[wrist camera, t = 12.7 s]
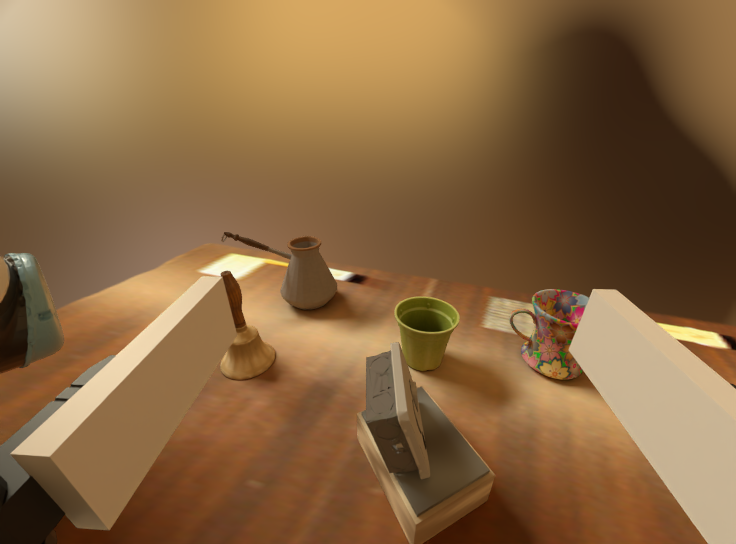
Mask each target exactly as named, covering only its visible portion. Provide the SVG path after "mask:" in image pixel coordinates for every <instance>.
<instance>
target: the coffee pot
mask: <svg viewBox="0 0 736 544" xmlns="http://www.w3.org/2000/svg"><path fill="white" fill-rule="evenodd" d="M224 235H226V238H227V237H231V238H233V239H234V240H235V241H237V240H239V241H241V242H243V243H245V244H247V245H249V246H252V247H256V248H259V249H262V250H265V251H269V252H272V253H275V254H277V255H280V256H282V257H285V258H288V259H290V262H289V265H288V268H287V271H286V275H285V278H284V281H283V284H282V287H281V295H282V297H283V298H284V299H285V300H286V301H287V302H288V303H289V304H291V305H293V306H295V307H297V308H299V309H305V310H310V309H316V308H319V307H322V306H323V305H325V304H326V303H327V302H328V301H329V300H330V299H331V298H332V297H333V296H334V295H335V293H336V290H337V283H336V281H335V279H334V277H333V276H332V274H331V272H330V270H329V269H328V267H327V265H326V263H325V262H324V260H323V258H322V256H321V255H320V253H319V246H320V245H321V241H320V239H318V238H315V237H311V236H305V237H299V238H295V239H293V240H291V241H289V242H288V244H287V246H288V248H289V249H291V252H292V255H291V254H288V253H285V252H282V251H279V250H276V249H273V248H270V247H268V246H265V245H263V244H261V243H259V242H256V241H254V240H251V239H248V238H244V237H239V235H233V234H231V233H229V232H224ZM224 235H223V237H224ZM223 237H222V242H224V241H225V240H226V238H225V239H224V241H223Z"/></svg>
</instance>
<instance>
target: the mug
mask: <svg viewBox="0 0 736 544" xmlns="http://www.w3.org/2000/svg"><path fill="white" fill-rule="evenodd" d="M588 300H589V298H588V297H586V296H584V295H581V294H578V293H574V292H570V291H566V290H558V289H548V290H542V291H539V292H537V293H536V294H535V295H534V296H533V298H532V303H533V306H534V311H535V315H534V314H533V313H532V312H531V311H529V310H526V309H517V310H515V311H513V312H512V313H511V314H510V317H509V320H510V324H511V326H512V328H513V330H514V331H515V332H516V333H517V334H518V335H519V336H520V337H522V338H523V339H525V340H527V342H525V343H524V344H523V346H522V348H521V354H522V357H523V358H524V360H525V361H526V363H527V364H528V365H529V366H530V367H532V368H533V369H534V370H536V371H537V372H539V373H541V374H543V375H546V376H548V377H551V378H555V379H562V380H567V379H573V378H576V377H578V376H579V375H580V374H581V373H582V372H583V369H582V368H581V367H580V365H579V364H578V363H577V361H576V360H575V358H574V357H573V356H572V354H571V353H570V351H569V347H570V345H571V342H572V340H573V337H574V335H575V333H576V330H577V328H578V325H579V323H580V320H581V318H582V315H583V313H584V310H585V308H586V305H587V303H588ZM518 313H527V314H529V315H531V316H532V318H533V323H534V324H535V326H534V330H533V333H532V335H531V337H530V338H529V337H527V336H525V335H523V334H522V333H521V332H519V331H518V330H517V329H516V327H515V326H514V324H513V317H514V315H516V314H518Z"/></svg>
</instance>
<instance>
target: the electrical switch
mask: <svg viewBox="0 0 736 544" xmlns="http://www.w3.org/2000/svg"><path fill="white" fill-rule="evenodd" d="M390 344H391V351H389V352H385V353H381V354H379V355H377V356H372V357H367V358H366V422H369V423H367V426H368V428H369V430H370V432H371V434H372V436H373V438H374V441H375V443H376V445H377V447H378V449H379V451H380V454H381V456H382V458H383V460H384V462H385V464H386V466H387V469H388V471H389V473H395V472H401V471H405V472H409V471H419V474H420V478H421V479H425V478H429V477H430V466H429V460H428V455H427V449H426V443H425V437H424V431H423V426H422V420H421V414H420V408H419V402H418V397H417V388H416V383H415V382H413V381H412V378H411V375H410V371H409V368H408V365H407V362H406V360H405V357H404V354H403V352H402V349H401V347H400V344H399V342H397V343H390ZM375 420H376V421H375ZM370 421H372V422H370ZM375 429H376V430H375Z"/></svg>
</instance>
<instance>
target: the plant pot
mask: <svg viewBox="0 0 736 544" xmlns="http://www.w3.org/2000/svg"><path fill="white" fill-rule="evenodd" d="M394 312H395V318H396V320H397V322H398V325H399V327H400V334H401V342H402V352H403V354H404V357H405V360H406V362H407V365H409V366H410V367H412V368H413V369H416V370H419V371H425V370H434V369H436V368H437V367H438V366H439V365H440V364H441V361H442V359H443V356H444V352H445V349H446V346H447V343H448V341H449V338H450V335H451V333H452V332H453V330H454V329H455V328H456V327H457V325H458V323H459V319H460V317H459V314H458V312H457V310H456V309H455V308H454V307H453V306H452V305H450V304H448V303H447V302H445V301H442V300H439V299H436V298H432V297H412V298H408V299H405V300H403V301H401V302H400V303H399V304H398V305H397V306H396V308H395V311H394Z"/></svg>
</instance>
